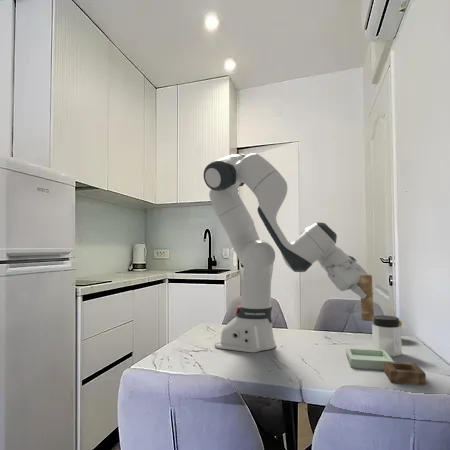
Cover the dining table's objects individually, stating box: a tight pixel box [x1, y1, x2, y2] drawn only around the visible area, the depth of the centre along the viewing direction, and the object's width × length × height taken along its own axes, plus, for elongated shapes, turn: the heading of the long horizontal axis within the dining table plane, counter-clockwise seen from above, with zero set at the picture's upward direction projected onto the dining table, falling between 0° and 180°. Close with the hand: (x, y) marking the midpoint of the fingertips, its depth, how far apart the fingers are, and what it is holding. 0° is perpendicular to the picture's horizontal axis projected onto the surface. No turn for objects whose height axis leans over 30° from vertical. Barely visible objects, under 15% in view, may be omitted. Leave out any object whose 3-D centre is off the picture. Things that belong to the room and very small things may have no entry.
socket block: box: [383, 361, 427, 386], centre depth 95 cm, size 8×8×3 cm
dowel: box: [359, 274, 375, 322], centre depth 109 cm, size 4×4×14 cm
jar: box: [371, 314, 403, 358], centre depth 118 cm, size 9×8×12 cm
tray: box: [345, 347, 395, 371], centre depth 108 cm, size 12×12×2 cm
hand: (368, 296), depth 109 cm, fingers closed on dowel, 4 cm apart
